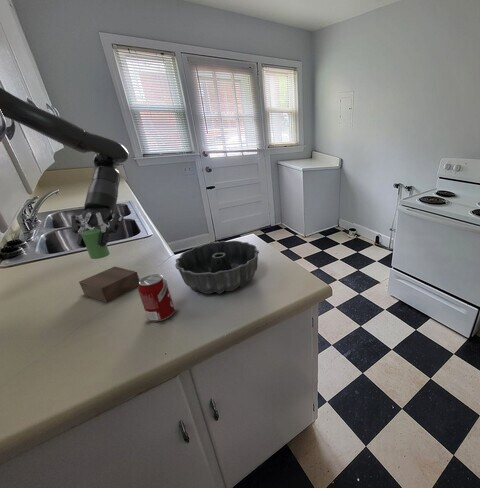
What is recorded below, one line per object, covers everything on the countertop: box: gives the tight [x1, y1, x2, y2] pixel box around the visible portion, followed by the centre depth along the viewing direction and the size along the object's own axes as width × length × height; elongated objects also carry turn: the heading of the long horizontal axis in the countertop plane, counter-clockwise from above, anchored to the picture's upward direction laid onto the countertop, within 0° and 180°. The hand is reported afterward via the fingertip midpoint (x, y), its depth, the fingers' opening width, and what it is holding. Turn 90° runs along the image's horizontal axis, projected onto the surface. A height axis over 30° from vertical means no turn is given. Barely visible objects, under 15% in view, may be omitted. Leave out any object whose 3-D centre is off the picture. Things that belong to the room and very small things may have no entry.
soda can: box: [137, 273, 175, 322], centre depth 75 cm, size 7×7×12 cm
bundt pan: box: [174, 240, 260, 295], centre depth 93 cm, size 26×26×10 cm
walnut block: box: [78, 266, 140, 303], centre depth 89 cm, size 11×11×5 cm
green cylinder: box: [81, 228, 110, 260], centre depth 82 cm, size 5×5×8 cm
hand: (91, 245), depth 81 cm, fingers closed on green cylinder, 4 cm apart
